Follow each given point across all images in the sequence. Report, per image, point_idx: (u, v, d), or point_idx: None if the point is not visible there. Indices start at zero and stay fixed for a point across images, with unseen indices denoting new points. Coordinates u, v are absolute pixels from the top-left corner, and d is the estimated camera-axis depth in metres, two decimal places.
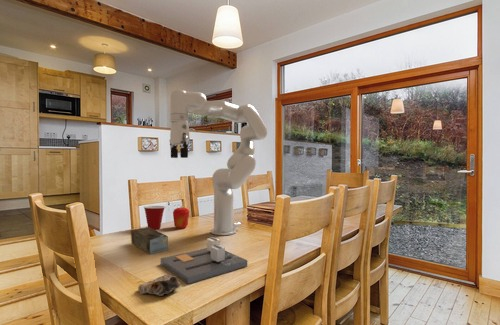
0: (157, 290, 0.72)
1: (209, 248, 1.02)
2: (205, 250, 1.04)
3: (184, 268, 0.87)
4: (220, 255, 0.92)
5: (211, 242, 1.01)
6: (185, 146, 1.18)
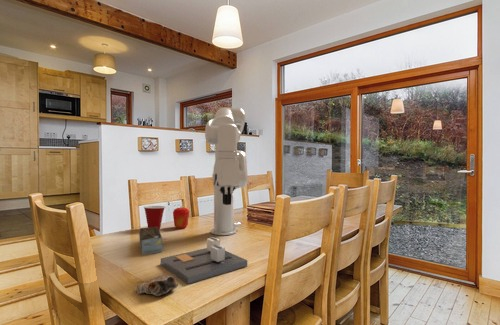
0: (154, 291, 0.72)
1: (209, 248, 1.02)
2: (205, 250, 1.04)
3: (184, 268, 0.87)
4: (220, 255, 0.92)
5: (211, 242, 1.01)
6: None
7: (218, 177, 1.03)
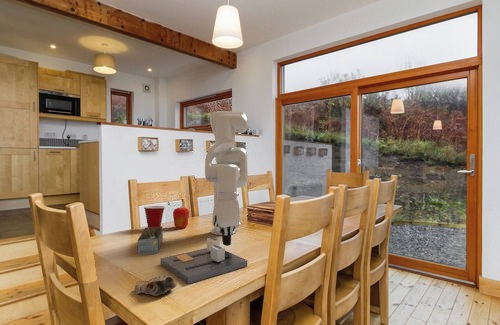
0: (152, 291, 0.72)
1: (209, 248, 1.02)
2: (205, 250, 1.04)
3: (184, 268, 0.87)
4: (220, 255, 0.92)
5: (211, 242, 1.01)
6: None
7: (218, 219, 1.03)
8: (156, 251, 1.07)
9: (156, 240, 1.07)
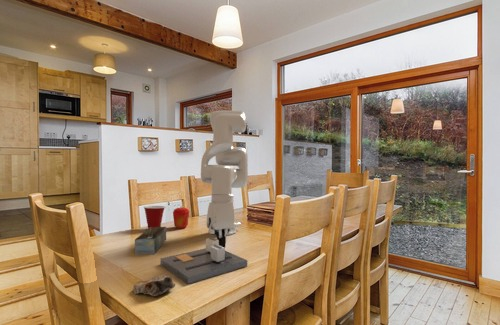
0: (151, 291, 0.72)
1: (208, 248, 1.02)
2: (205, 250, 1.04)
3: (184, 268, 0.87)
4: (220, 255, 0.92)
5: (210, 242, 1.01)
6: None
7: (212, 221, 1.01)
8: (153, 251, 1.06)
9: (152, 240, 1.06)
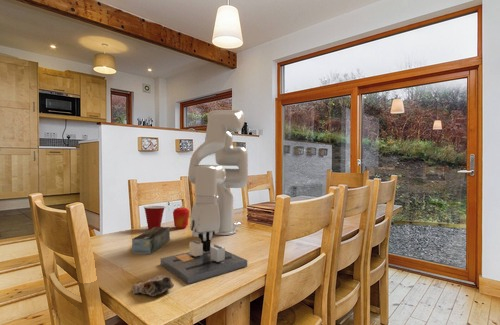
0: (149, 291, 0.72)
1: (191, 252, 0.98)
2: None
3: (184, 268, 0.87)
4: (220, 255, 0.92)
5: (193, 246, 0.97)
6: None
7: (195, 224, 0.97)
8: (149, 252, 1.06)
9: (148, 241, 1.06)
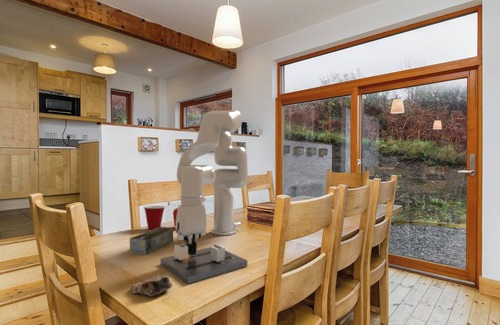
0: (147, 291, 0.72)
1: (176, 255, 0.94)
2: (205, 250, 1.04)
3: (184, 268, 0.87)
4: (220, 255, 0.92)
5: (178, 249, 0.93)
6: None
7: (180, 226, 0.93)
8: (144, 252, 1.05)
9: (144, 241, 1.05)
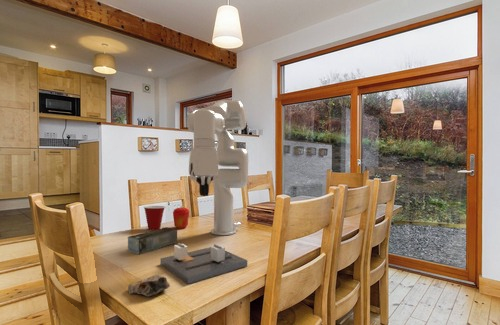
0: (145, 291, 0.72)
1: (176, 256, 0.94)
2: (205, 250, 1.04)
3: (184, 268, 0.87)
4: (220, 255, 0.92)
5: (178, 249, 0.93)
6: None
7: (194, 166, 0.96)
8: (137, 252, 1.06)
9: (137, 241, 1.06)
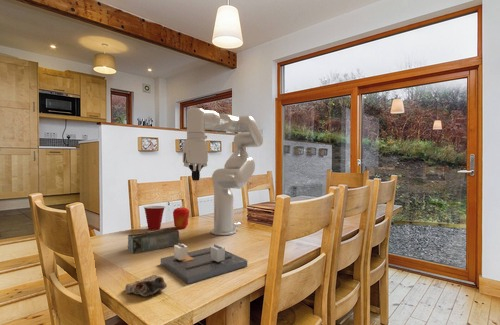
0: (141, 291, 0.72)
1: (176, 256, 0.94)
2: (205, 250, 1.04)
3: (184, 268, 0.87)
4: (220, 255, 0.92)
5: (178, 249, 0.93)
6: None
7: (187, 155, 1.15)
8: (132, 251, 1.07)
9: (132, 240, 1.06)
